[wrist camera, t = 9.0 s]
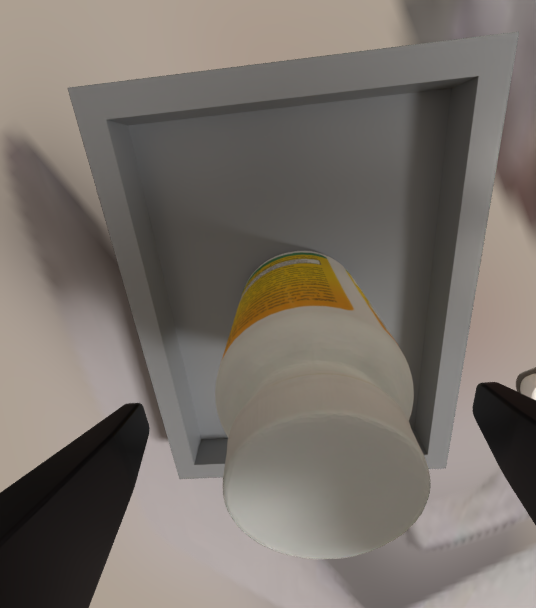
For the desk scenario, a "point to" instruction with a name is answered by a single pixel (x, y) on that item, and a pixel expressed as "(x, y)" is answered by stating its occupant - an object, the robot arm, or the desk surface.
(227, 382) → the supplement bottle
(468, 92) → the tray
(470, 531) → the desk surface
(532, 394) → the phone case
